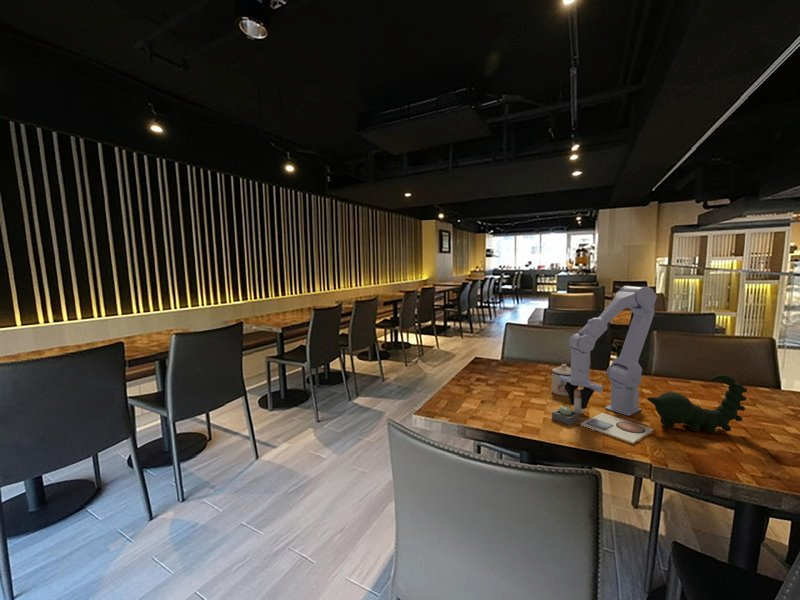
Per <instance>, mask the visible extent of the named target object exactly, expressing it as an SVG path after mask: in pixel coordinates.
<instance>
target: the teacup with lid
mask: <svg viewBox="0 0 800 600" xmlns="http://www.w3.org/2000/svg"><path fill="white" fill-rule="evenodd" d="M561 375H562V376H567V377H571V367H568V366H567V364H566V363H562V364H561V365H559V366H558V367H554V368H552V369H551V392H552V393H553V394H555V395H559V396H562V397H569V395H568V393H567V391H566V389H565V387H564V386H565V385H566V383H565V382H559V381H558V377H559V376H561Z"/></svg>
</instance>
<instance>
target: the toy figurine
mask: <svg viewBox="0 0 800 600" xmlns="http://www.w3.org/2000/svg"><path fill="white" fill-rule="evenodd" d="M710 381H711V382H712V383H713V382H716V381H717V382H718V381H721V382H722V383H724V384H725V385H727V388H728V389H727V390H726V391H725V393H724V396H725V397H724V398H723V399H722V401H721V404H720V405H718V406H717V407H716V409H709V408H702V407H701V406H700V405H697V404H694V403H692V402H691V400H690V399H689V398H688V397H686V396H685V395H683V394H682V393H678V392H675V391H674V392H673V391H669V392H668V391H667V392H664V393H662V394H659V396H657V397H656V396H655V397H646V400H647V401H648V402H650V403H651V404H653V406H654V407H655V410H656V412H657V414H658V416H660V419H659V420H660V423H661V424H662V425H663V426H664V427H666V428H667V427H668V429H672V428H674V427H675V425H676V424H679V425H680V424H681V425H682V424H684V425H687V426H688V427H689V429H690V430H691V431H693V432H699V431H701V429H704V430H706V431H707V432H708V433H709V432H710V433H709V434H711V433H714V434H716V432H717V430H716V429H717V428H721V429H722V430H723V431H725V432H731V430H732V427H731V426H730V425H729V423H730V421H734V420H735V421H737V422H742V421H743V417H742V415H738V411H741V412H743V411H745V410H746V407H745V406H743V405H741V402H744V401H745V402H746V401H747V397H746V396H744V394H743V393H747V392H748V389H747V388H746V387H745V386H743V385H742V384H741V383H738V382H735V379H734V378H733V377H732V376H730V375H728V374H717V375H714V376H713V377H711V379H710Z"/></svg>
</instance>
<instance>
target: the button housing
mask: <svg viewBox="0 0 800 600" xmlns="http://www.w3.org/2000/svg"><path fill="white" fill-rule="evenodd" d="M551 420H553V421H555V420H556V421H555V422H558V423H560V422H561V424H563V423H564V425H566V426H568V425H570V426H572V425H574V424H575V423H578V422H580V414H579V413H576V412H574V410H572V415H571V416H569V417H568V416H565V415H562V414H560V408H558V409H556V410H553V411H551ZM571 424H572V425H571Z"/></svg>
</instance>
